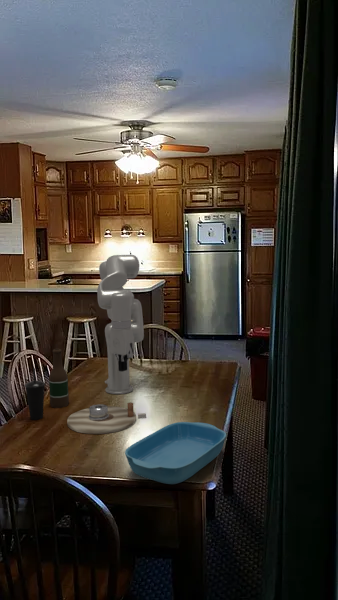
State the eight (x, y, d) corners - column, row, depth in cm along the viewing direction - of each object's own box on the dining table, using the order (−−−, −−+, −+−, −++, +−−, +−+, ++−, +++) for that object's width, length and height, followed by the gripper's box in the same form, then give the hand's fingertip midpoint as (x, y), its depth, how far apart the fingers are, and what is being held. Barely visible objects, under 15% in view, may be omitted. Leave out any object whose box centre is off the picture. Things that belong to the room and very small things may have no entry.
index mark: (138, 418, 202) (138, 414, 201) (138, 417, 203) (137, 413, 203) (146, 417, 202) (146, 414, 202) (145, 416, 204) (145, 412, 203)
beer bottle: (72, 403, 222) (70, 348, 219) (61, 409, 215) (58, 352, 212) (57, 401, 225) (55, 346, 222) (46, 406, 218) (43, 350, 215)
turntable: (71, 411, 211) (70, 395, 211) (135, 408, 213) (135, 393, 212) (63, 435, 186) (62, 418, 185) (136, 432, 188) (135, 414, 187)
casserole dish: (175, 498, 141) (174, 472, 140) (111, 477, 153) (110, 454, 152) (237, 450, 171) (237, 429, 170) (180, 436, 183) (179, 417, 182)
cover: (91, 414, 203) (90, 403, 203) (110, 414, 203) (110, 403, 202) (86, 420, 196) (86, 410, 195) (107, 420, 195) (106, 410, 195)
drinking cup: (29, 422, 200) (26, 371, 197) (24, 416, 207) (21, 367, 204) (48, 419, 203) (46, 368, 201) (44, 413, 210) (41, 364, 208)
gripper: (101, 323, 204) (103, 369, 206) (127, 328, 194) (128, 376, 196) (116, 320, 209) (117, 365, 212) (141, 325, 199) (143, 371, 202)
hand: (122, 370), depth 204 cm, fingers closed
